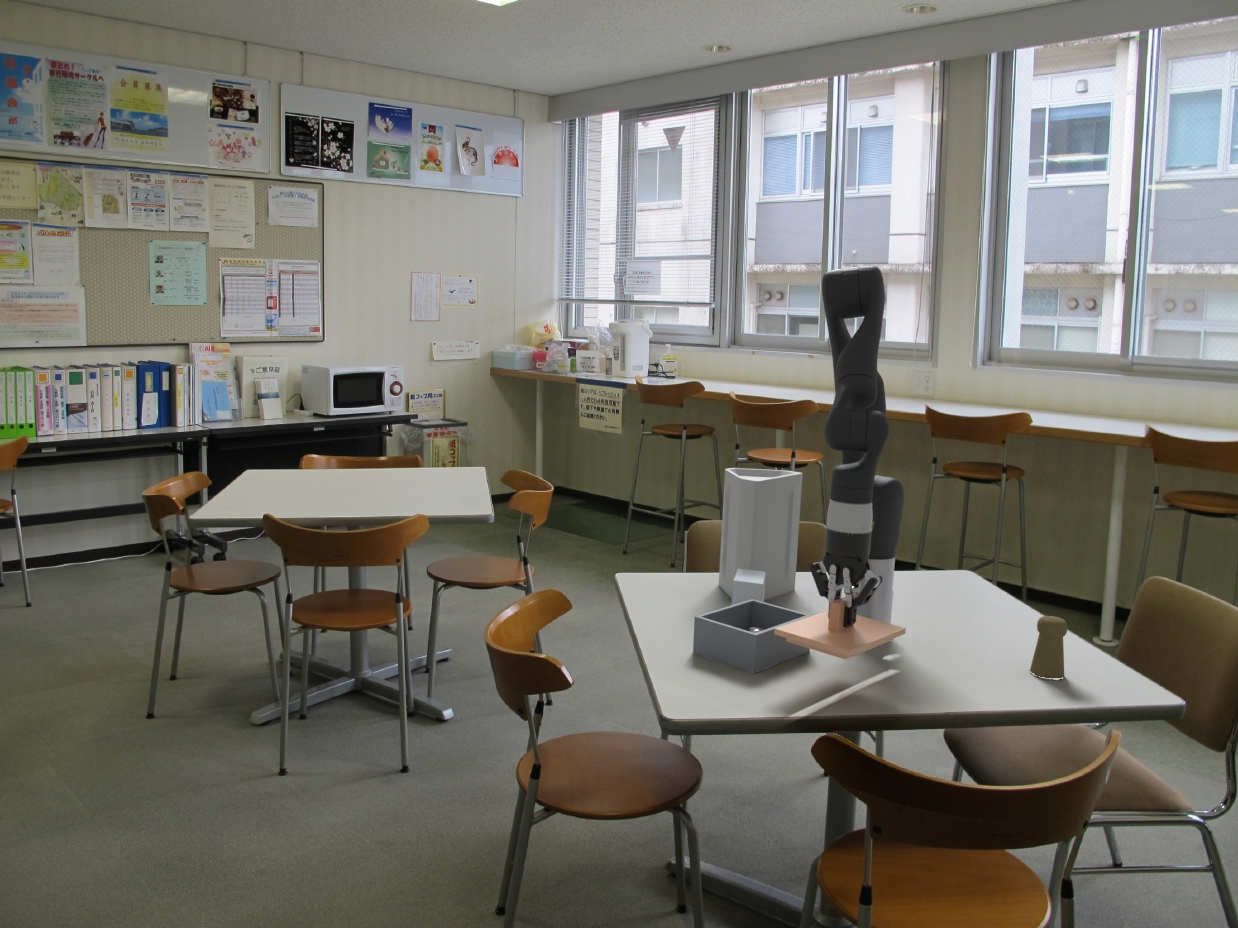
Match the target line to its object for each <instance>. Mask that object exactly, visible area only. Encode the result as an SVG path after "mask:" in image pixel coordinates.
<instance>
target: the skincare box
mask: <svg viewBox="0 0 1238 928" xmlns="http://www.w3.org/2000/svg"><path fill="white" fill-rule="evenodd" d="M765 578H766V572H763V571H755V570H746V569H737V572H736V575H735V577H734V580H733V589H732V599H731V604H730V606H731V605H734V604H737V603H741V602H744V601H747V600H751V599H754V600H758V601H761V602H765V600H764V594H765Z"/></svg>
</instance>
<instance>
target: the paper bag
mask: <svg viewBox="0 0 1238 928" xmlns="http://www.w3.org/2000/svg"><path fill="white" fill-rule="evenodd" d="M723 482H724V483H723V496H722V497H723V501H722V515H721V516H722V518H721V536H720V537H721V539H720V554H719V555H720V556H719V571H718V586H719V587H720V589H722V591H724V592H725V594H726V595H727V596H728V597H729V598H730V597H731V598H730V599H731V600H732V589H733V580H734V577H735V575H736V572H737V569H746V570H755V571H763V572H766V578H765V594H764V601H767V600H769V599H773V598H775V597H778V596H781V595H784V594H788V593H791V592H792V591H795V590H796V589H795V588H796V578H797V577H796V576H797V575H796V574H797V559H798V546H799V545H798V544H799V530H800V514H801V500H802V486H803V485H802V483H803V472H799V471H794V470H784V469H783V470H780V469H761V468H743V467H742V468H741V467H729V468H724V481H723Z"/></svg>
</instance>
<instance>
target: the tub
mask: <svg viewBox="0 0 1238 928" xmlns="http://www.w3.org/2000/svg"><path fill="white" fill-rule="evenodd" d="M810 616H813V615H811V614H808V613H804V612H801V611H797V610H794V609H790V608H786V607H782V606H779V605H775V604H772V603H769V602H765V601H764V602H761V601H758V600H754V599H751V600H747V601H744V602H741V603H737V604H734V605H731V604H730V605H728V606H724V607H722V608H718V609H715V610H712V611H708V612H706V613H703V614H699V615H695V616H694V623H693V624H694V625H693V644H692V645H693V646H692V647H693V648H692V653H693V654H695V655H698V656H702V657H704V658H708V659H711V660H714V661H716V662H719V663H722V664H724V665H728V666H731V667H734V668H736V669H739V670H743V671H746V672H748V673H751V674H755V673H758V672H761V671H763V670H766V669H768V668H771V667H773V666H776V665H778V664H781V663H783V662H786V661H789V660H791V659H794V658H796V657H798V656H801V655H804V654H805V653H808V652H810V651H811V649H809V648H806V647H803V646H800V645H796V644H793V643H790V642H787V641H786V638H785V637H782V636H779V635H775V634H774V631H775V628H778V627H781V626H784V625H787V624H790V623H793V622H796V621H799V620H802V619H804V618H807V617H810ZM751 627H759V628H763V629H764V630H763V631H760V632H757V633H753V632H749V628H751Z"/></svg>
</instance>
